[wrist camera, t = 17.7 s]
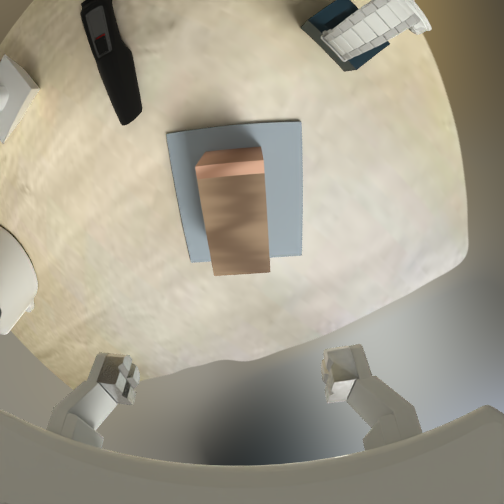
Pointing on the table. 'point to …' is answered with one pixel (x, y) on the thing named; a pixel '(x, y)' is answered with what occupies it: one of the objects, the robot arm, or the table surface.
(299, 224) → the slate pad
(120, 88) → the electric trimmer
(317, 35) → the watch
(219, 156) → the walnut block
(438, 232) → the table surface
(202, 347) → the table surface
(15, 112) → the white peg stand
